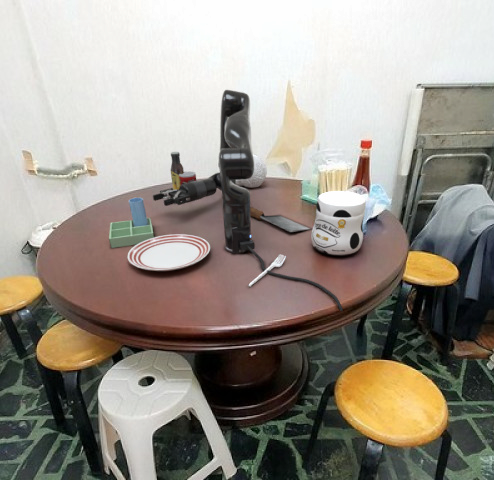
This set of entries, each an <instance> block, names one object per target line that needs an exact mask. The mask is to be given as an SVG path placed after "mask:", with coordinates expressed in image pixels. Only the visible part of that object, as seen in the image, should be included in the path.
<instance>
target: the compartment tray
mask: <svg viewBox="0 0 494 480" xmlns="http://www.w3.org/2000/svg"><path fill="white" fill-rule="evenodd" d="M147 221H148V225H146V226H138V227H134V222H133V219H130V220H123V221H114V222H110V223H109V234H108V240H109V243H110V247H111V249H115V248H116V249H117V248H120V247H121V248H122V247H129V246H135V245H137V244H139V243H141V242H143V241H145V240H148V239H151V238H155V235H154V229H153V224H152V217H147Z"/></svg>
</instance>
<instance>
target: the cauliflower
mask: <svg viewBox="0 0 494 480" xmlns="http://www.w3.org/2000/svg"><path fill="white" fill-rule="evenodd" d="M253 157H254V172H253V175H252V177H251V178H249V179H244V180H243V179H241V180H236V185H237V186H239V187H242V186H244V188H258V187H261V185H263V183H264V182H265V180H266V178H267V174H268V173H267V171H268V170H267V166H266V163H265V161H264V159H262V157H260V156H259V155H257V154H254V153H253Z"/></svg>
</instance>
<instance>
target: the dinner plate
mask: <svg viewBox="0 0 494 480" xmlns="http://www.w3.org/2000/svg"><path fill="white" fill-rule="evenodd" d="M210 251H211V245H210V243H209V242H208V240H206V239H204V238H203V237H201V236H196V235H193V234H184V233H180V234H179V233H176V234H165V235H159V236H154V238H151V239H148V240H145V241H143V242H141V243H139V244H137V245H133V247H131V248H130V249H129V251H128V253H127V260H128V262H129V263H130V265H132V266H134V267H136V268H138V269H142V270H145V271H150V272H151V271H152V272H170V271H176V270H177V271H178V270H181V269H186V268H188V267H191V266H193V265H195V264H197V263H199V262H200V261H202V260H203V259H204V258H206V257H207V255H208V254H209V253H210Z"/></svg>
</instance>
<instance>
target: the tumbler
mask: <svg viewBox="0 0 494 480" xmlns="http://www.w3.org/2000/svg"><path fill="white" fill-rule="evenodd" d="M128 205H129V209H130V212H131V214H130V215H131V218H132V220H133V222H134V227H138V226H146V225H148V221H147V218H148V217H147V212H146V207H145V202H144V198H142V197H133V198H129V199H128Z"/></svg>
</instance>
